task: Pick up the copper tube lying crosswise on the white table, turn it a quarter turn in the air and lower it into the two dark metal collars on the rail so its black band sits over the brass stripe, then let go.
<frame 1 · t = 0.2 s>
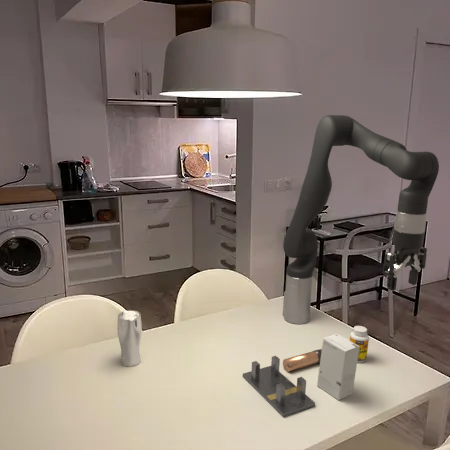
hand: (401, 286, 125), 29 cm above the table, tool pointing down, fingers open, 8 cm apart
skincare box: (335, 391, 127), on the table
supplement bottle: (357, 359, 143), on the table
copper tube: (309, 364, 140), on the table
white sculpted vase: (130, 361, 139), on the table
collar rail: (277, 390, 126), on the table
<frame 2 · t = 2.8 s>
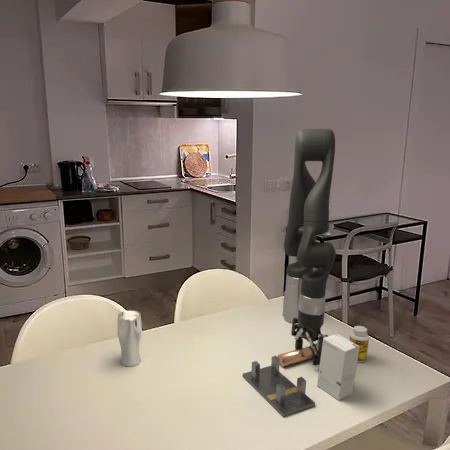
hand: (307, 357, 140), 2 cm above the table, tool pointing down, fingers open, 8 cm apart
copper tube: (307, 356, 140), point 2 cm above the table, tilted 93°, touching gripper
everything else where it was.
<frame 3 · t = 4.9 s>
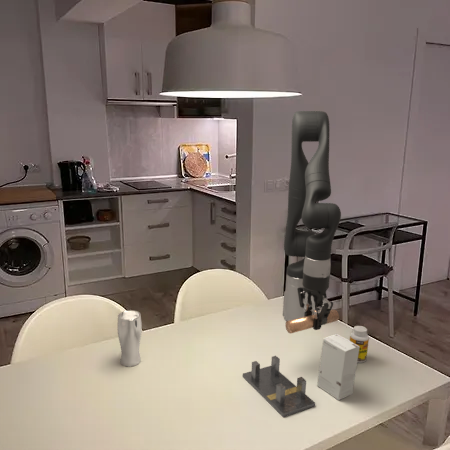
hand: (312, 325, 137), 12 cm above the table, tool pointing down, fingers closed on copper tube, 3 cm apart
copper tube: (312, 326, 137), point 12 cm above the table, touching gripper
everything else where it was.
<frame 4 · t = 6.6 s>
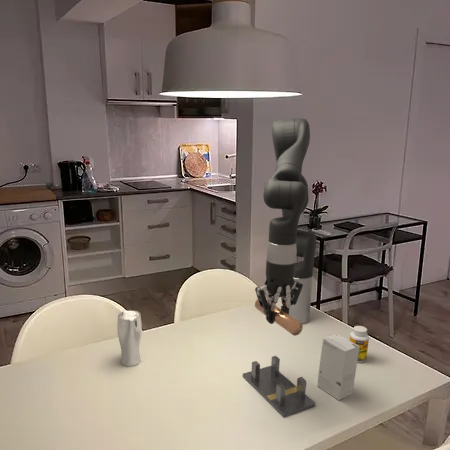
hand: (277, 321, 122), 20 cm above the table, tool pointing down, fingers closed on copper tube, 3 cm apart
copper tube: (277, 321, 122), point 20 cm above the table, touching gripper
everything else where it was.
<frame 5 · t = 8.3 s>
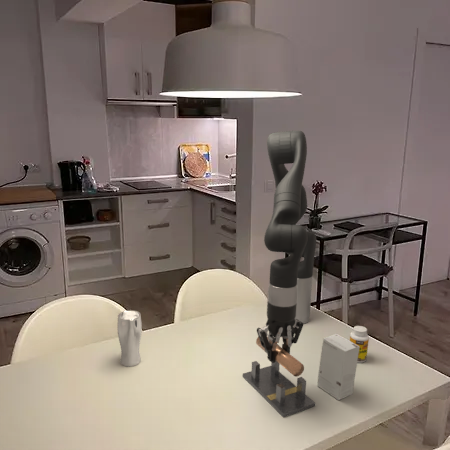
hand: (278, 359, 124), 9 cm above the table, tool pointing down, fingers closed on copper tube, 3 cm apart
copper tube: (278, 360, 124), point 9 cm above the table, touching gripper
everything else where it was.
when the fingers open (2 cm above the table, at t = 9.8 s): copper tube stays where it is, resting on collar rail.
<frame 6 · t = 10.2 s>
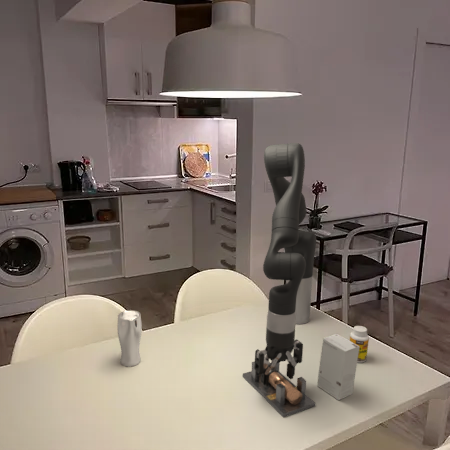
hand: (277, 381, 125), 3 cm above the table, tool pointing down, fingers open, 7 cm apart
copper tube: (277, 387, 126), point 1 cm above the table, touching collar rail
everything else where it was.
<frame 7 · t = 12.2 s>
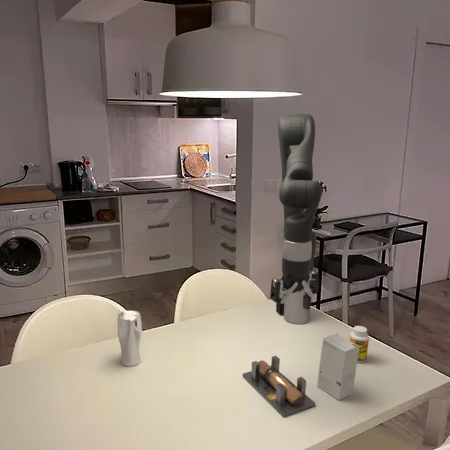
hand: (293, 311, 126), 21 cm above the table, tool pointing down, fingers open, 8 cm apart
nothing on the table moved.
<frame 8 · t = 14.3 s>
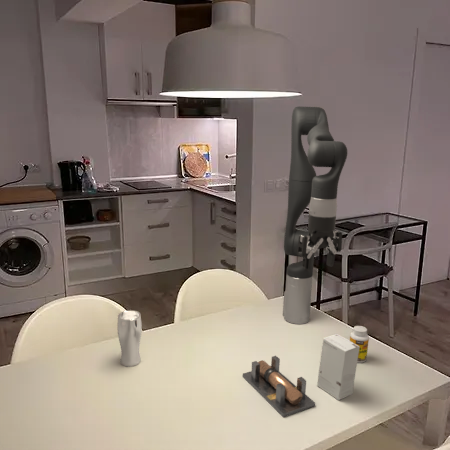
hand: (318, 267, 134), 30 cm above the table, tool pointing down, fingers open, 8 cm apart
nothing on the table moved.
at the end: copper tube 0.0 cm off-centre on the collar rail, point 1.1 cm above the collar rail's base; copper tube point 1.1 cm above the table; the gripper is holding nothing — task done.
